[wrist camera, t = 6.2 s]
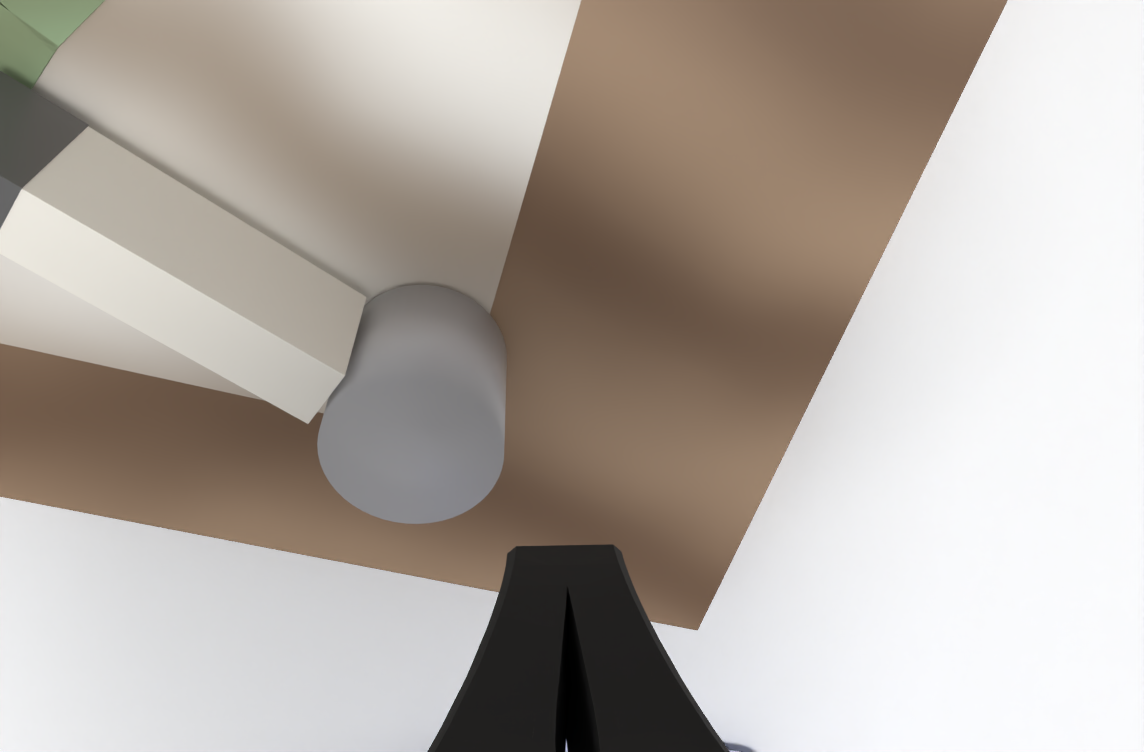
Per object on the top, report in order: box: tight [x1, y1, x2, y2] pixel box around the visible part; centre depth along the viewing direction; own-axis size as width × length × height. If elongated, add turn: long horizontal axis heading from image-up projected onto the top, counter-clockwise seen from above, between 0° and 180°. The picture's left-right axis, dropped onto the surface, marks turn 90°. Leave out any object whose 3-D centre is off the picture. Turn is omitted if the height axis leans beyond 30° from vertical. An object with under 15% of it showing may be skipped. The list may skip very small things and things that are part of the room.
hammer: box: [0, 71, 507, 524], centre depth 18 cm, size 10×3×3 cm, turn 52°
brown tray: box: [0, 0, 1007, 630], centre depth 20 cm, size 18×18×1 cm
